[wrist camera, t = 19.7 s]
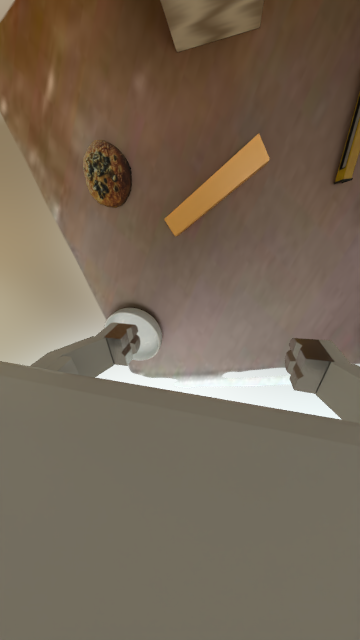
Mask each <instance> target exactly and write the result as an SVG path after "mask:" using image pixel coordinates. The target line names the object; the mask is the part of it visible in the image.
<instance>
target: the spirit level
mask: <svg viewBox="0 0 360 640" xmlns="http://www.w3.org/2000/svg"><path fill="white" fill-rule="evenodd" d="M359 152H360V93H359V97H358V100H357V104H356V107H355V111H354V115H353V118H352V122H351V126H350V129H349V133H348V137H347V140H346V144H345V147H344V151H343V155H342V158H341V162H340V166H339V169H338V173H337V176H336V180H335V182H334V184H336V183H339V182H342V183H344V182H347V181H350V180H352V179H353V178H352V175H353V171H354V168H355V165H356V162H357V158H358V155H359Z"/></svg>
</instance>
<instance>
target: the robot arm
mask: <svg viewBox="0 0 360 640" xmlns="http://www.w3.org/2000/svg"><path fill="white" fill-rule="evenodd" d="M137 333H138V328H137V326H136V325H133V324H124V323H110V324H109V325H108V326H107V327H106V328H104V329H103V330H102V331H101V332H100V333H99V334H97V335H96V336H95V337H94V336H92V337H90V338H87V339H84V340H81V341H79V342H76V343H73V344H71V345H68V346H65V347H63V348H60V349H58V350H54V351H52V352H49V353H47V354H46V355H45V356H43V357H42V358H40V359H39V360H38V361H36V362H35V363H33V364H32V365H31V366H25V365H19V364H13V363H7V362H2V361H0V640H360V367H359V366H357V365H355V364H350V362H349V361H348V360H347V359H346V358H345V356H344V355H343V354H342V353H341V352H340V351H339V349H338V348H337V347H336V346H335V345H334V343H333V342H332V341H330V340H314V339H298V338H292V339H291V340H290V343H289V347H290V349H291V350H289V351H288V352H287V353H286V356H285V367H286V370H287V372H288V373H289V374H291V376H290V381H291V383H292V386H293V389H294V390H297V391H303V392H309V393H314V394H316V395H317V396H318V397H319V398H320V399H321V400H322V401H323V402H324V403H325V404H326V405H327V406H328V407H329V408H330V409H332V410H333V411H334V412H335V413H336V414H337V415H338V416H339V417H340V418H341V419H342V420H339V419H334V418H327V417H322V416H316V415H310V414H304V413H298V412H293V411H287V410H281V409H275V408H269V407H263V406H258V405H252V404H246V403H240V402H235V401H228V400H223V399H217V398H212V397H206V396H200V395H194V394H188V393H182V392H176V391H170V390H164V389H159V388H152V387H147V386H140V385H135V384H129V383H124V382H118V381H112V380H106V379H100V378H95V377H96V376H98V375H99V374H101V373H102V372H104V371H105V370H107V369H108V368H110V367H112V366H113V365H114V364H117V365H125V366H128V364H129V363H130V362H131V360H132V359H133V354H135V353H137V352H138V350H139V347H140V337H139V336H138V335H137Z"/></svg>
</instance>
